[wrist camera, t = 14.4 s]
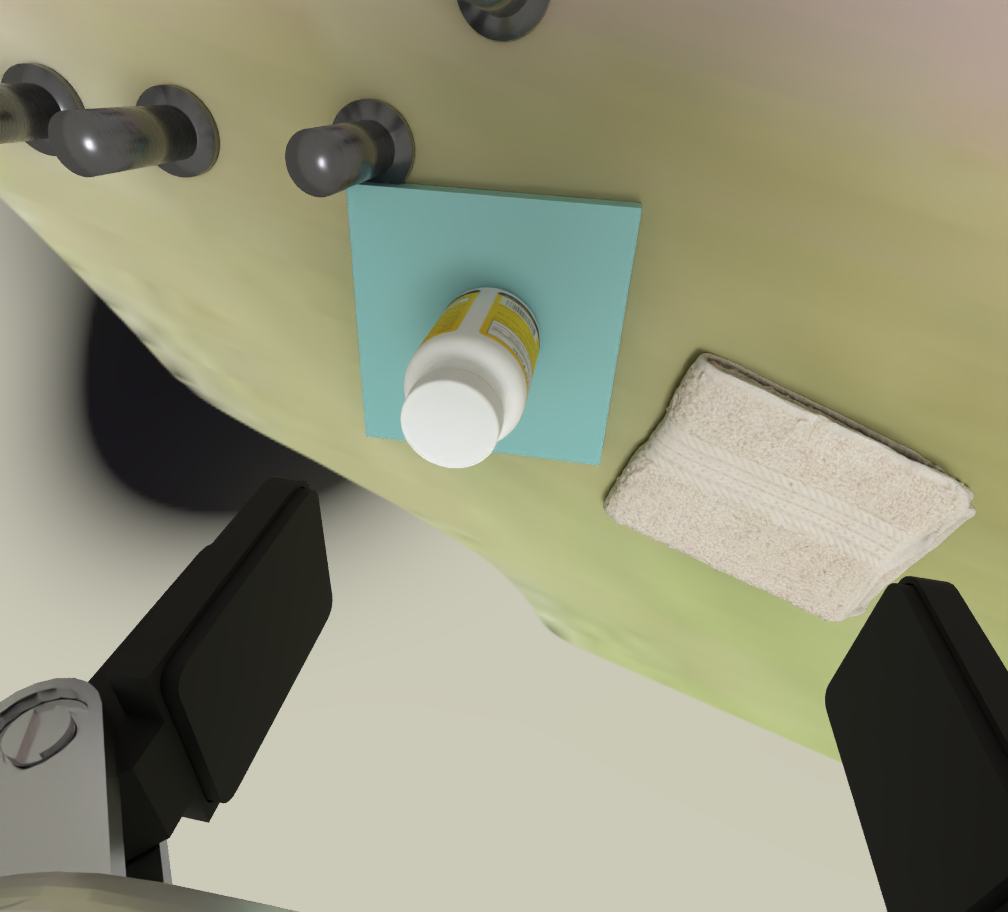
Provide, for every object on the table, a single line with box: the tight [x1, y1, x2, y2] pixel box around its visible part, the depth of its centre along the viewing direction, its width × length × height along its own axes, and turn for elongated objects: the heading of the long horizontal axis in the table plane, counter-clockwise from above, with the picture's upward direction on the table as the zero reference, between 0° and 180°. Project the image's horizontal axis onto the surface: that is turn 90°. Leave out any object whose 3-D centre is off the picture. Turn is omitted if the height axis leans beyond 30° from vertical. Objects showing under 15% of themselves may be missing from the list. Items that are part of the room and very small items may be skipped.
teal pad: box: [346, 182, 642, 465], centre depth 33 cm, size 14×14×2 cm
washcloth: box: [603, 353, 976, 622], centre depth 35 cm, size 12×18×3 cm, turn 67°
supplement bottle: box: [401, 287, 540, 468], centre depth 28 cm, size 5×5×10 cm
